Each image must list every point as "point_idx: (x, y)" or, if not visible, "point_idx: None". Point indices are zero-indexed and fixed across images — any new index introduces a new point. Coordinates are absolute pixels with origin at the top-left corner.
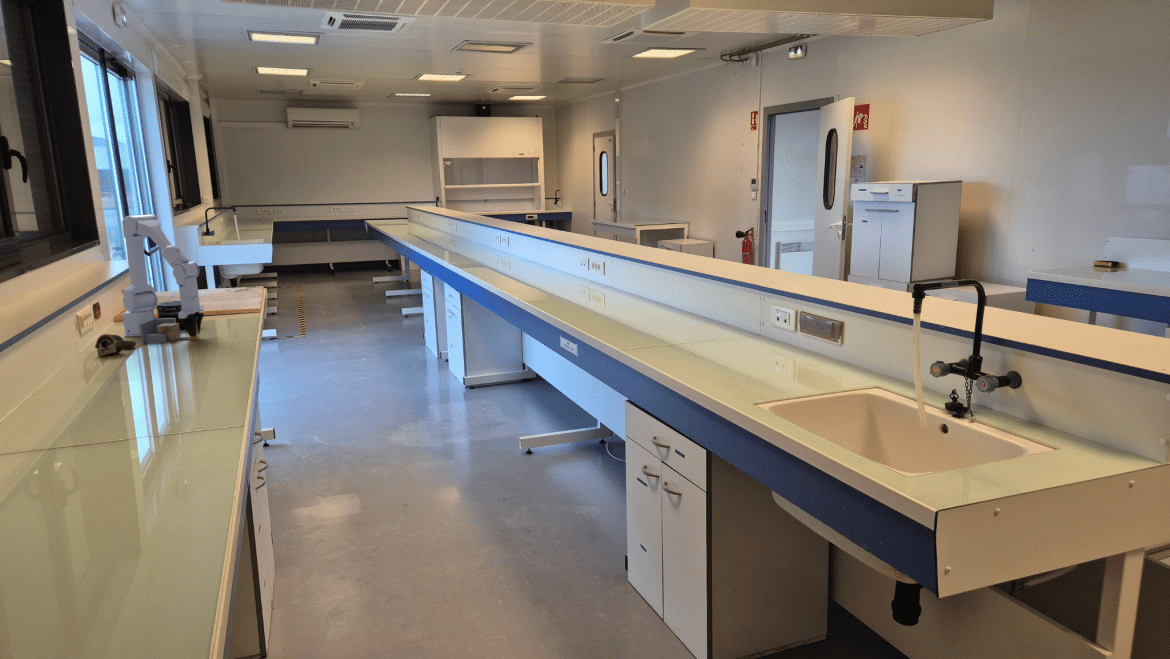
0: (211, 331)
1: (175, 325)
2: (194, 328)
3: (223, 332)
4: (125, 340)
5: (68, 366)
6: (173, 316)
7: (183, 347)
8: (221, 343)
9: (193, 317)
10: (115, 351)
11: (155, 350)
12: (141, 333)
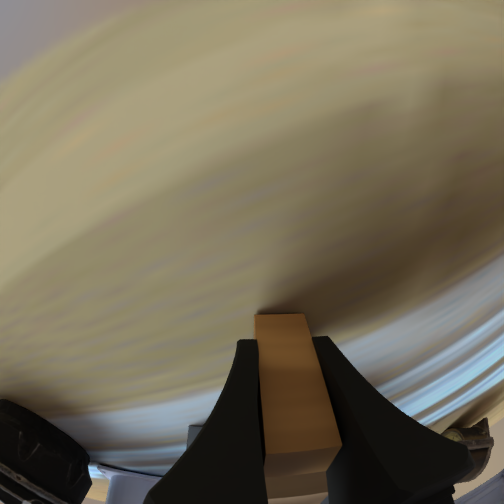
0: (17, 317)
1: (276, 491)
2: (367, 384)
3: (17, 220)
4: (470, 448)
5: (500, 417)
6: (60, 491)
7: (494, 280)
8: (473, 59)
9: (468, 472)
10: (487, 418)
11: (477, 365)
12: (327, 497)
